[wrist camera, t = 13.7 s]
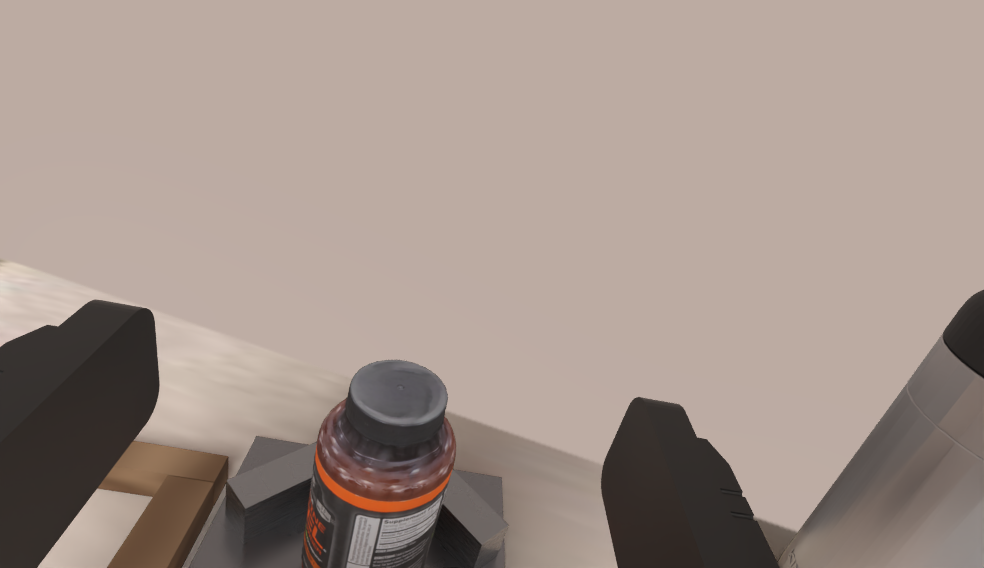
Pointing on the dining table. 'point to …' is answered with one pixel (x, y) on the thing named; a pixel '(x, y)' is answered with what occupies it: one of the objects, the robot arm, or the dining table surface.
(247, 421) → the dining table surface
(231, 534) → the metal v block
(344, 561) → the supplement bottle
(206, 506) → the frame
